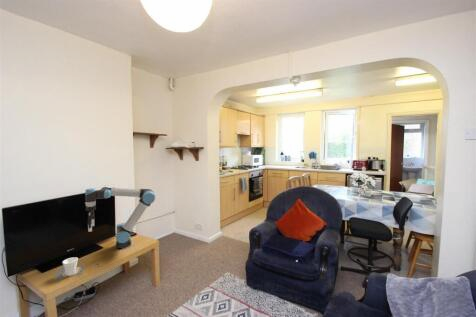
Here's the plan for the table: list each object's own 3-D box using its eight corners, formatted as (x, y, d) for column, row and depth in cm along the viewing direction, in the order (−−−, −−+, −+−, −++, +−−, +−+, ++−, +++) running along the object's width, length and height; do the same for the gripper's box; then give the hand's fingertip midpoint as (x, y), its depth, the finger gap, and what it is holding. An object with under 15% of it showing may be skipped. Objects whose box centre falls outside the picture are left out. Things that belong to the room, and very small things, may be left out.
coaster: (82, 266, 189) (82, 265, 189) (79, 274, 177) (79, 273, 177) (64, 269, 184) (63, 269, 184) (59, 278, 172) (59, 277, 172)
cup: (65, 279, 170) (65, 265, 170) (60, 274, 176) (60, 261, 175) (80, 272, 179) (80, 259, 178) (75, 268, 184) (75, 255, 183)
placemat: (85, 264, 192) (85, 264, 192) (81, 275, 178) (81, 274, 178) (59, 269, 184) (59, 269, 184) (53, 280, 170) (53, 280, 170)
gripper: (88, 202, 211) (89, 224, 213) (82, 210, 189) (83, 234, 190) (97, 201, 214) (98, 223, 216) (93, 209, 192) (94, 233, 193)
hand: (91, 228), depth 203 cm, fingers open, 13 cm apart
